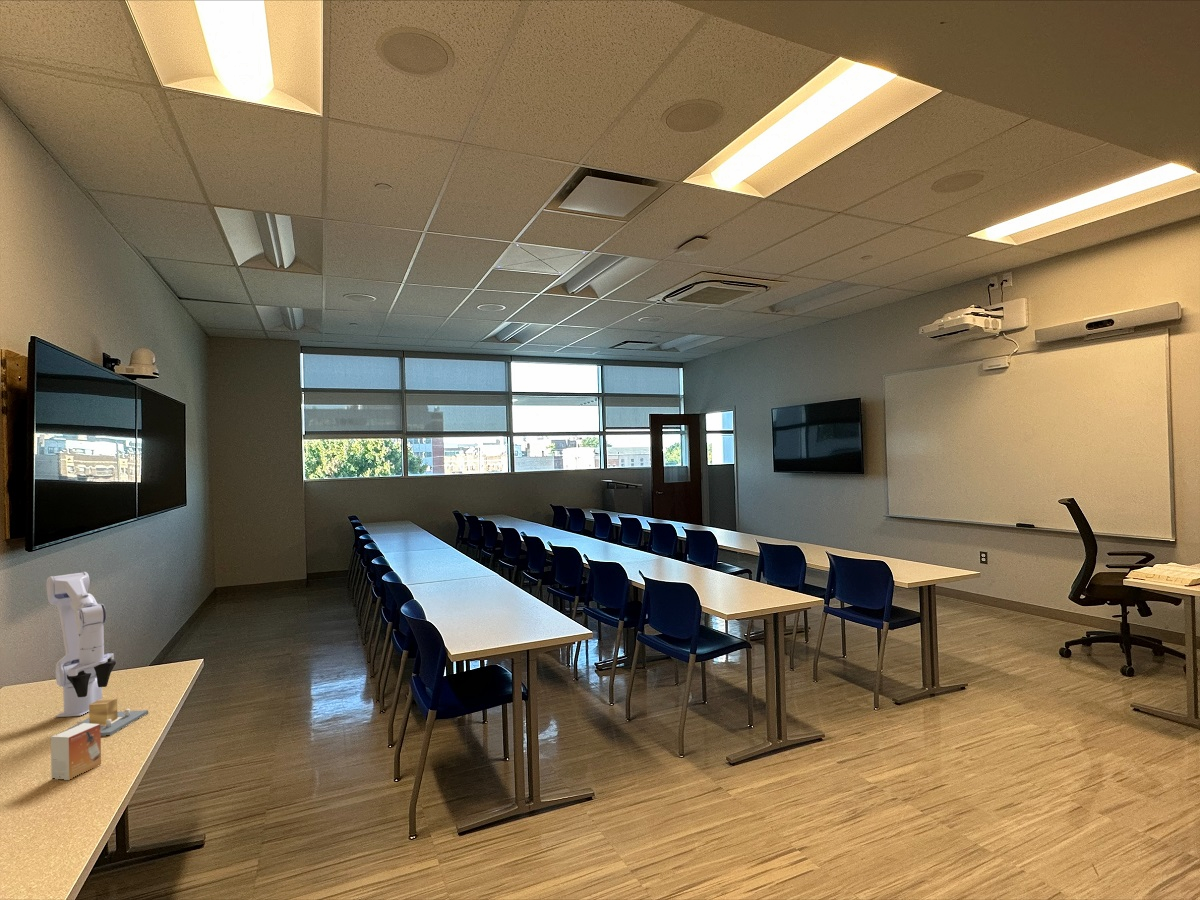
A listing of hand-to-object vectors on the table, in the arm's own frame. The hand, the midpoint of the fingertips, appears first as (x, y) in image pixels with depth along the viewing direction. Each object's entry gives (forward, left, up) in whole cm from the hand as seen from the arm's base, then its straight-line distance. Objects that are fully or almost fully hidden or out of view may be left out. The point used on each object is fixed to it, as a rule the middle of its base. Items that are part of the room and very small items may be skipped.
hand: (92, 691), depth 179 cm
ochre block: (+3, +5, -8) cm, 10 cm away
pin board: (+3, +5, -9) cm, 11 cm away
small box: (+31, +20, -10) cm, 38 cm away
